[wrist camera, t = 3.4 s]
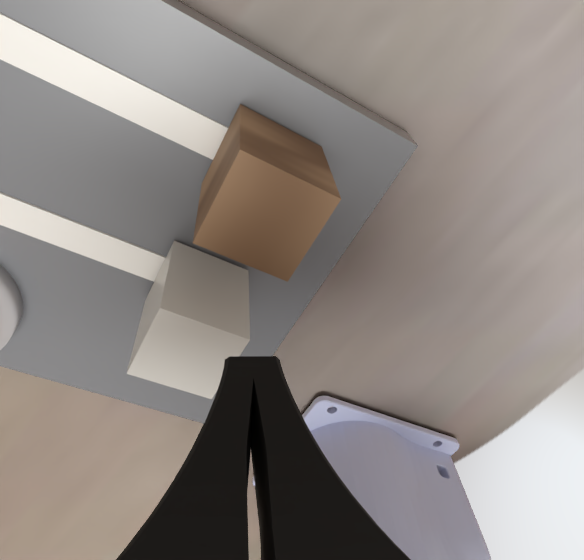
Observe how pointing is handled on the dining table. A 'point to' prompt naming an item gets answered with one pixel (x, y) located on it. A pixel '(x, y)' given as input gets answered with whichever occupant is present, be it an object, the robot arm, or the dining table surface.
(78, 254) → the panel
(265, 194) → the slider walnut
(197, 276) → the slider cream
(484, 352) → the dining table surface
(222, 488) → the robot arm
